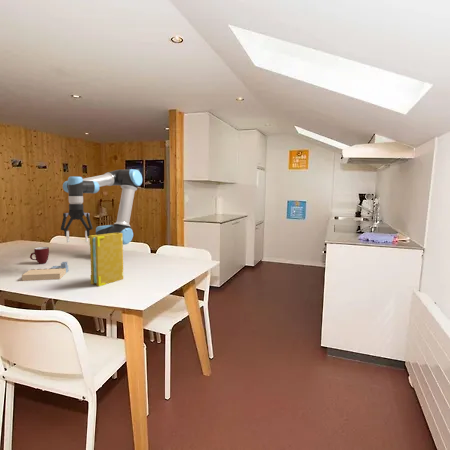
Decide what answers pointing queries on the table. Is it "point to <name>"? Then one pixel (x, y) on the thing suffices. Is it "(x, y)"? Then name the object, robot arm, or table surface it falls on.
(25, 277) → the board
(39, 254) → the mug
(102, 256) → the book
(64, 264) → the stub
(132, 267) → the table surface
